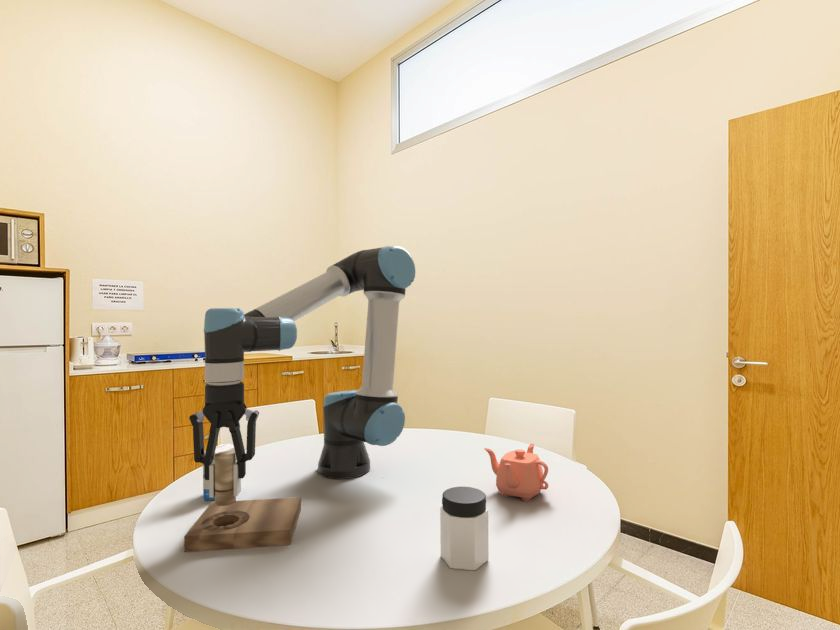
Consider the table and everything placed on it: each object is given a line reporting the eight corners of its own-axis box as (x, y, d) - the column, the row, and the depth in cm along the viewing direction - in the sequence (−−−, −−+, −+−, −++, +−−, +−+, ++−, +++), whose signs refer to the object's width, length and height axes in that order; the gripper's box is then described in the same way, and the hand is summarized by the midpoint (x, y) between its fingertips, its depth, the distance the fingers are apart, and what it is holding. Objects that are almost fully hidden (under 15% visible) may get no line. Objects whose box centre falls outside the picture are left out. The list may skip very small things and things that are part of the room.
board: (301, 509, 106) (301, 497, 106) (290, 544, 90) (290, 529, 90) (211, 515, 104) (211, 502, 104) (184, 551, 88) (184, 536, 88)
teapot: (506, 508, 106) (505, 461, 106) (483, 486, 120) (483, 444, 120) (561, 501, 110) (561, 456, 110) (533, 480, 124) (533, 440, 124)
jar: (460, 541, 91) (459, 482, 91) (495, 555, 86) (495, 492, 86) (432, 560, 84) (431, 496, 84) (468, 577, 79) (468, 508, 79)
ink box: (219, 501, 111) (219, 453, 111) (202, 499, 112) (201, 452, 112) (240, 488, 120) (240, 443, 120) (223, 486, 121) (223, 442, 121)
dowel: (238, 497, 97) (237, 450, 97) (233, 505, 93) (232, 456, 93) (217, 498, 96) (217, 451, 96) (212, 506, 92) (211, 457, 92)
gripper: (270, 378, 99) (271, 485, 99) (188, 380, 97) (188, 489, 97) (263, 383, 92) (264, 499, 92) (173, 386, 90) (174, 504, 90)
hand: (225, 494), depth 94 cm, fingers closed on dowel, 4 cm apart
